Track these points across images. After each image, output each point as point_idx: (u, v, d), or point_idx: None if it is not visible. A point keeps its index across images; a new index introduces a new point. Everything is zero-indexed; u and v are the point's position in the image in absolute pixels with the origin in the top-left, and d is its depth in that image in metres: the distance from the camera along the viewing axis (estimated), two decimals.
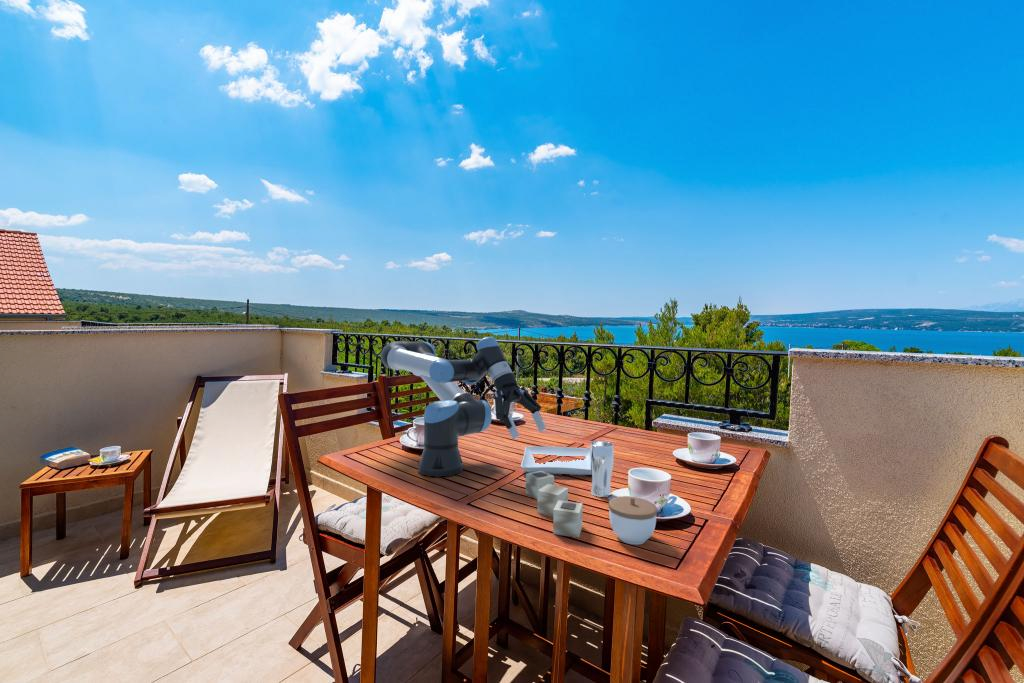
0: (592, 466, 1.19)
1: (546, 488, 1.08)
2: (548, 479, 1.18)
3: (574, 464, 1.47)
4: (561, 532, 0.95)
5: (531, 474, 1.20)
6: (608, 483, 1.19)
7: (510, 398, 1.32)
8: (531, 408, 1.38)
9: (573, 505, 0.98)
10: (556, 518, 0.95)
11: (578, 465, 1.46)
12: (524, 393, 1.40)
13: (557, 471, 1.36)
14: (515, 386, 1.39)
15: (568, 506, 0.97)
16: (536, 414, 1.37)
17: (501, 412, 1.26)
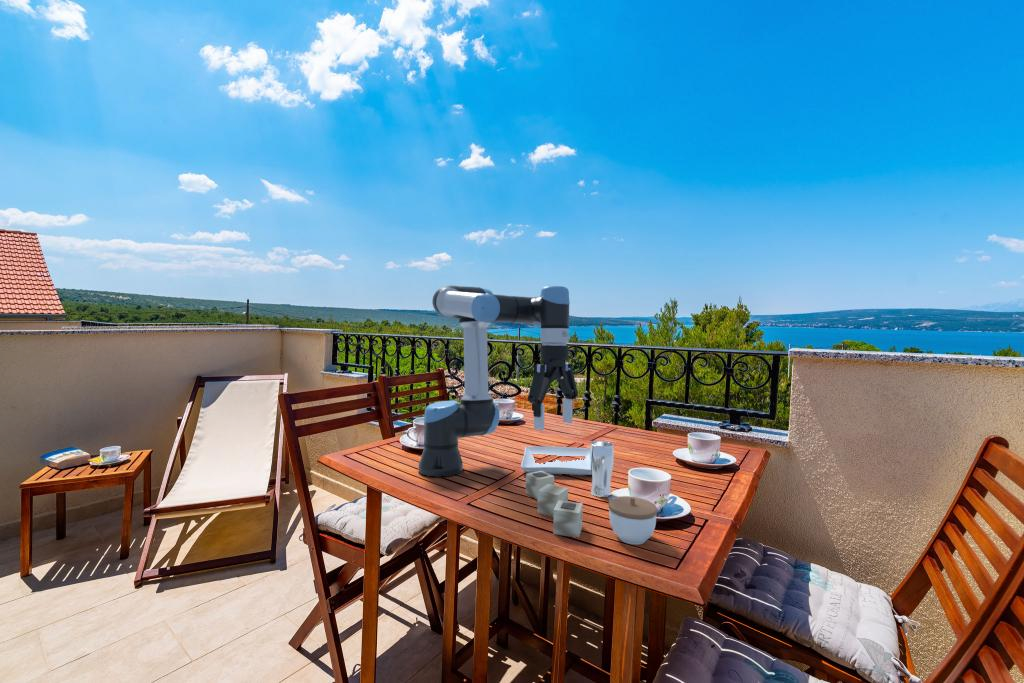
0: (592, 466, 1.19)
1: (546, 488, 1.08)
2: (548, 479, 1.18)
3: (574, 464, 1.47)
4: (561, 532, 0.95)
5: (531, 474, 1.20)
6: (608, 483, 1.19)
7: (552, 379, 1.05)
8: (567, 392, 1.12)
9: (573, 505, 0.98)
10: (556, 518, 0.95)
11: (578, 465, 1.46)
12: (568, 371, 1.12)
13: (557, 471, 1.36)
14: (563, 361, 1.10)
15: (568, 506, 0.97)
16: (569, 402, 1.12)
17: (536, 398, 1.01)
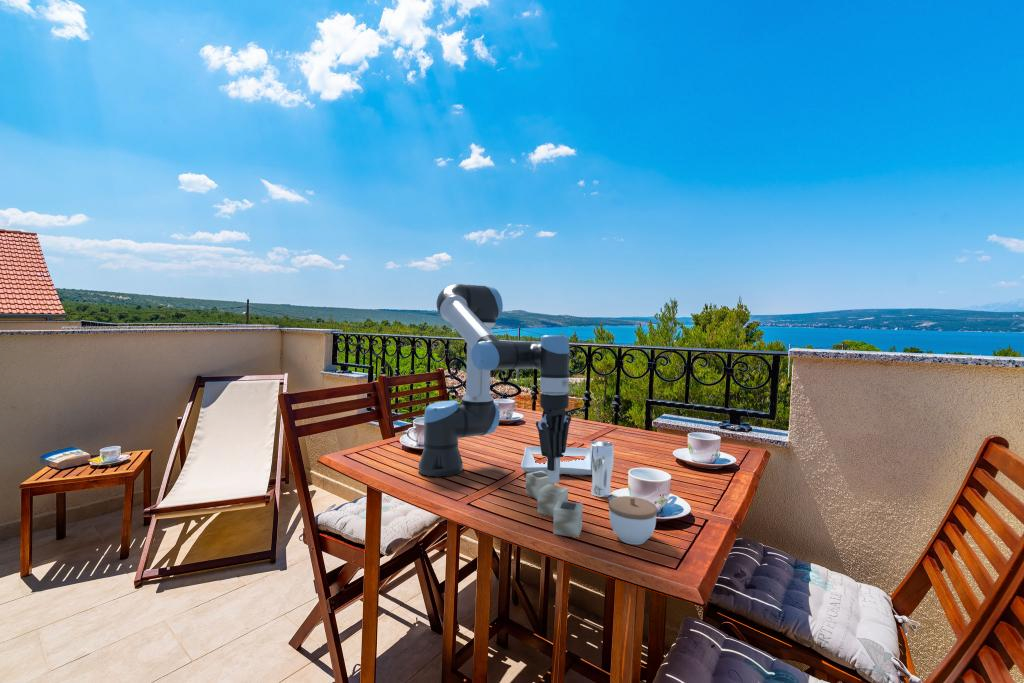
0: (592, 466, 1.19)
1: (546, 488, 1.08)
2: None
3: (574, 464, 1.47)
4: (561, 532, 0.95)
5: (531, 474, 1.20)
6: (608, 483, 1.19)
7: (556, 430, 1.06)
8: (556, 447, 1.08)
9: (573, 505, 0.98)
10: (556, 518, 0.95)
11: (578, 465, 1.46)
12: (565, 423, 1.11)
13: None
14: (565, 408, 1.10)
15: (568, 506, 0.97)
16: None
17: (549, 454, 1.05)
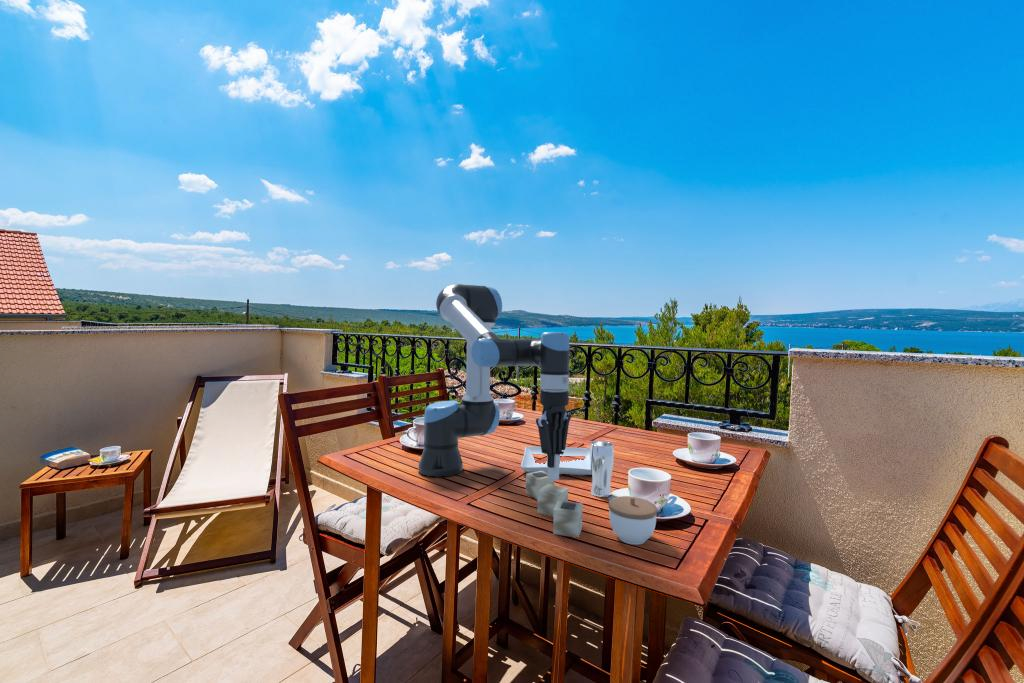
0: (592, 466, 1.19)
1: (546, 488, 1.08)
2: (548, 479, 1.18)
3: (574, 464, 1.47)
4: (561, 532, 0.95)
5: (531, 474, 1.20)
6: (608, 483, 1.19)
7: (556, 427, 1.06)
8: (556, 444, 1.08)
9: (573, 505, 0.98)
10: (556, 518, 0.95)
11: (578, 465, 1.46)
12: (565, 421, 1.11)
13: None
14: (565, 405, 1.10)
15: (568, 506, 0.97)
16: None
17: (549, 451, 1.05)
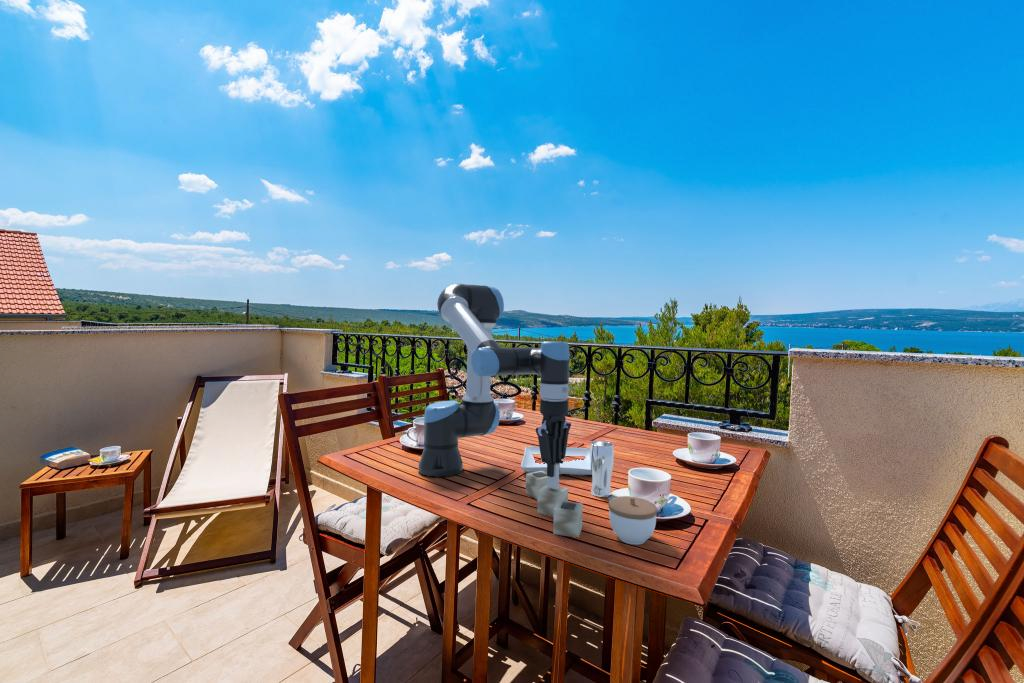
0: (592, 466, 1.19)
1: (546, 488, 1.08)
2: None
3: (574, 464, 1.47)
4: (561, 532, 0.95)
5: (531, 474, 1.20)
6: (608, 483, 1.19)
7: (556, 436, 1.06)
8: (555, 453, 1.08)
9: (573, 505, 0.98)
10: (556, 518, 0.95)
11: (578, 465, 1.46)
12: (565, 429, 1.11)
13: None
14: (565, 414, 1.10)
15: (568, 506, 0.97)
16: None
17: (549, 460, 1.05)
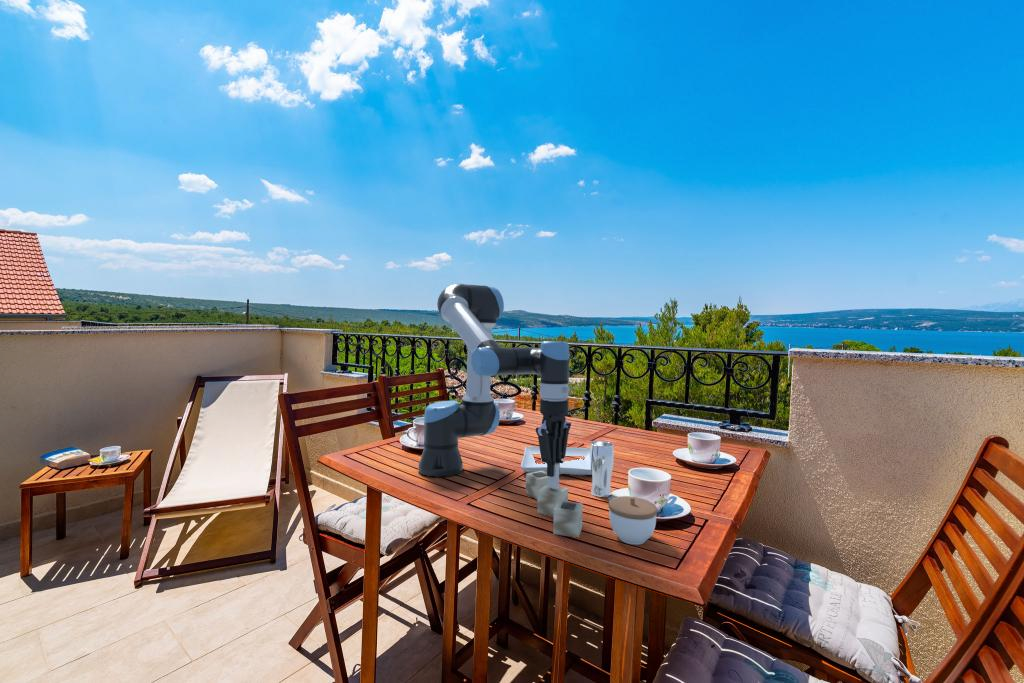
0: (592, 466, 1.19)
1: (546, 488, 1.08)
2: None
3: (574, 464, 1.47)
4: (561, 532, 0.95)
5: (531, 474, 1.20)
6: (608, 483, 1.19)
7: (556, 436, 1.06)
8: (555, 453, 1.08)
9: (573, 505, 0.98)
10: (556, 518, 0.95)
11: (578, 465, 1.46)
12: (565, 429, 1.11)
13: None
14: (565, 414, 1.10)
15: (568, 506, 0.97)
16: None
17: (549, 460, 1.05)
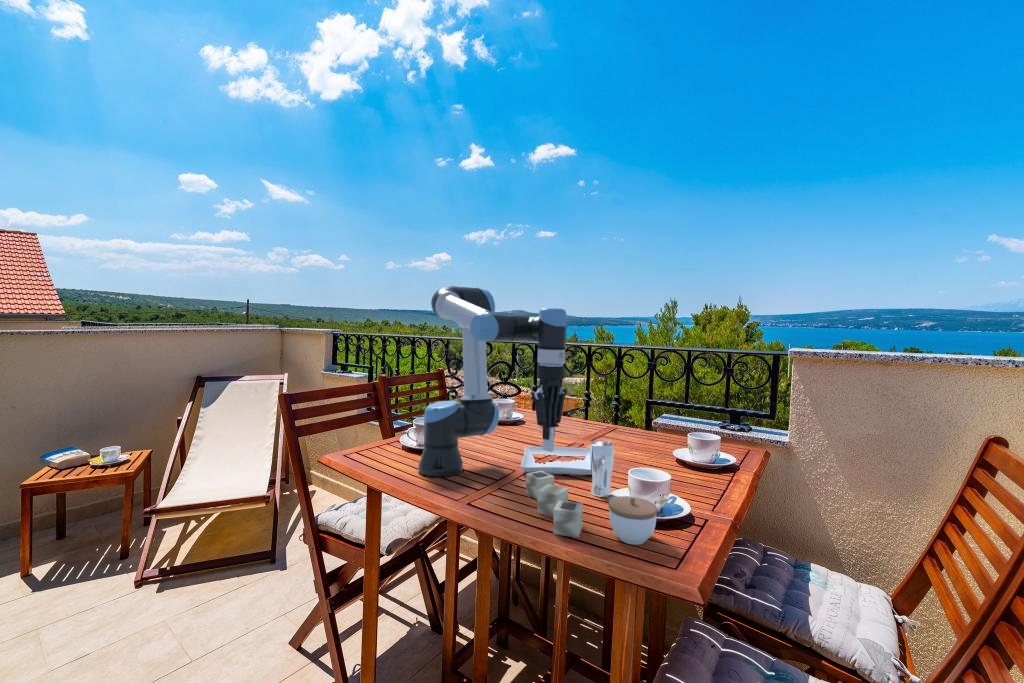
0: (592, 466, 1.19)
1: (546, 488, 1.08)
2: (548, 479, 1.18)
3: (574, 464, 1.47)
4: (561, 532, 0.95)
5: (531, 474, 1.20)
6: (608, 483, 1.19)
7: (552, 400, 1.09)
8: (551, 417, 1.12)
9: (573, 505, 0.98)
10: (556, 518, 0.95)
11: (578, 465, 1.46)
12: (561, 395, 1.14)
13: (557, 471, 1.36)
14: None
15: (568, 506, 0.97)
16: None
17: (545, 423, 1.08)
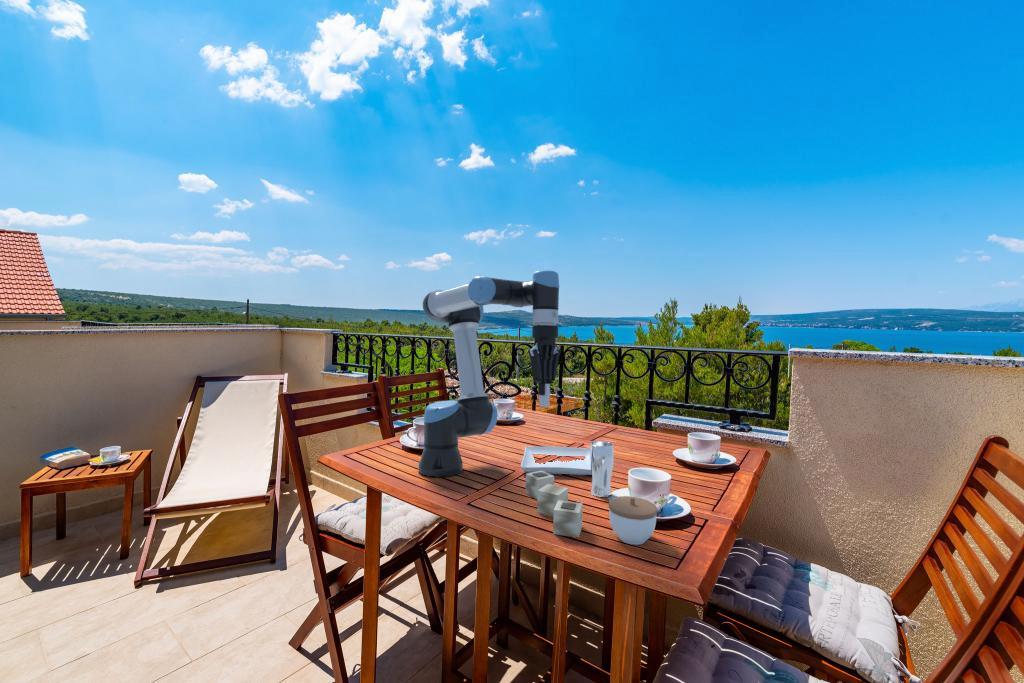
0: (592, 466, 1.19)
1: (546, 488, 1.08)
2: (548, 479, 1.18)
3: (574, 464, 1.47)
4: (561, 532, 0.95)
5: (531, 474, 1.20)
6: (608, 483, 1.19)
7: (546, 358, 1.16)
8: (546, 374, 1.18)
9: (573, 505, 0.98)
10: (556, 518, 0.95)
11: (578, 465, 1.46)
12: (555, 354, 1.20)
13: (557, 471, 1.36)
14: None
15: (568, 506, 0.97)
16: None
17: (540, 378, 1.14)
